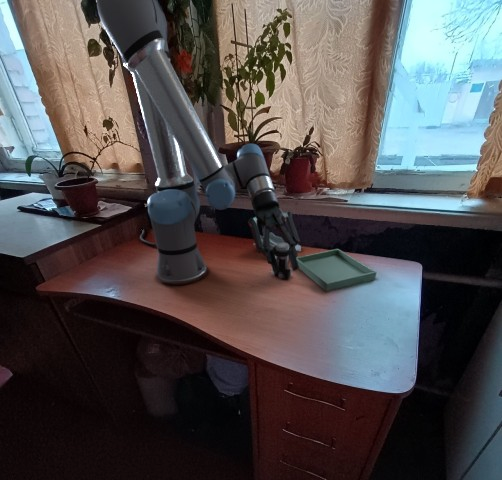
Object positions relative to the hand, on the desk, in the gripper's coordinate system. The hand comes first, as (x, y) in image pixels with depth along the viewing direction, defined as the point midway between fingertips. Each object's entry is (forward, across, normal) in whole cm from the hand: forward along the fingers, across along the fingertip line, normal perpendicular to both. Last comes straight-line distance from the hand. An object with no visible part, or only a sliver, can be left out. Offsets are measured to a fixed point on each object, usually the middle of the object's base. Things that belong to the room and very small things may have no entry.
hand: (286, 271), depth 89 cm
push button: (0, 0, -5) cm, 5 cm away
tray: (+3, -16, -2) cm, 16 cm away
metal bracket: (-12, -6, -17) cm, 22 cm away
